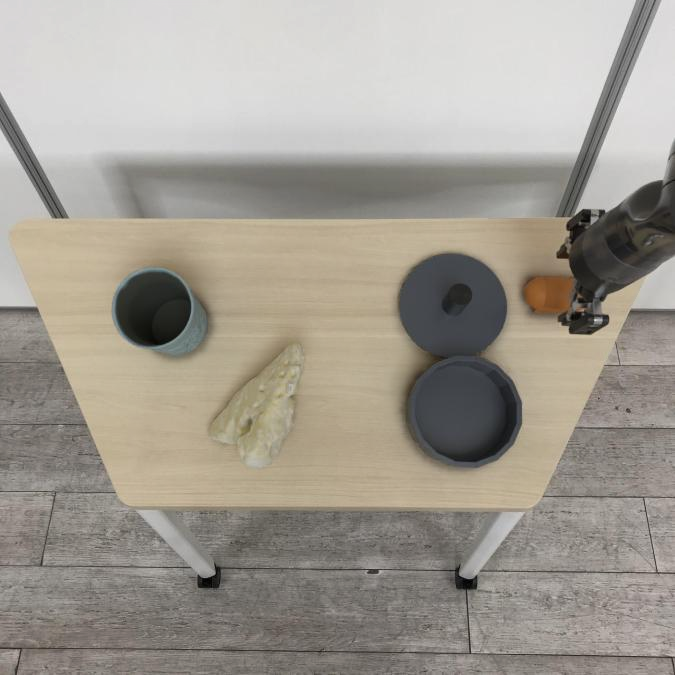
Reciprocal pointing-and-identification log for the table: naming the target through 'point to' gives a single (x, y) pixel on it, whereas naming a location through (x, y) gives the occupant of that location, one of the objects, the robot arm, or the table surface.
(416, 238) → the table surface
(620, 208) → the robot arm
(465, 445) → the pot
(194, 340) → the blue cup
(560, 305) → the bread
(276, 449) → the cream rock
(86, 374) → the table surface
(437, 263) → the lid
